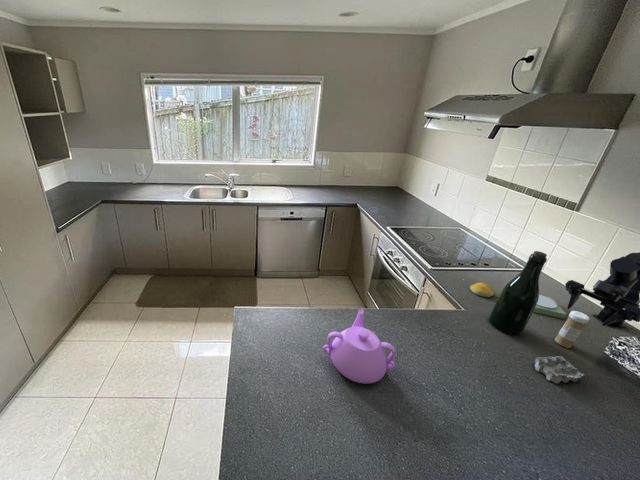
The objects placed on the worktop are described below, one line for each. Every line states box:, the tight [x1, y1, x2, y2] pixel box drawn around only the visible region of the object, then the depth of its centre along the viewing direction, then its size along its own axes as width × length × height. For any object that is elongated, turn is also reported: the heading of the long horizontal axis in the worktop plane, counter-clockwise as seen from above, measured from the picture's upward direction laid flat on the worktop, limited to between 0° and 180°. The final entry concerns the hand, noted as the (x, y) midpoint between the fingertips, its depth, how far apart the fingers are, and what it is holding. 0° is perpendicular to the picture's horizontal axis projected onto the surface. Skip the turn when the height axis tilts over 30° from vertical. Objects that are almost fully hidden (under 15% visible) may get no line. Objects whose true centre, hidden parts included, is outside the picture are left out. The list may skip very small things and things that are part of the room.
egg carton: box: [534, 355, 584, 385], centre depth 90 cm, size 11×8×4 cm
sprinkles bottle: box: [554, 310, 591, 349], centre depth 100 cm, size 5×5×13 cm
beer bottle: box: [488, 250, 548, 336], centre depth 104 cm, size 10×10×33 cm
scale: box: [533, 294, 567, 319], centre depth 122 cm, size 14×12×4 cm
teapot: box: [322, 306, 397, 384], centre depth 90 cm, size 22×22×14 cm
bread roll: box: [469, 282, 495, 298], centre depth 130 cm, size 8×9×4 cm
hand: (584, 316), depth 100 cm, fingers open, 9 cm apart
